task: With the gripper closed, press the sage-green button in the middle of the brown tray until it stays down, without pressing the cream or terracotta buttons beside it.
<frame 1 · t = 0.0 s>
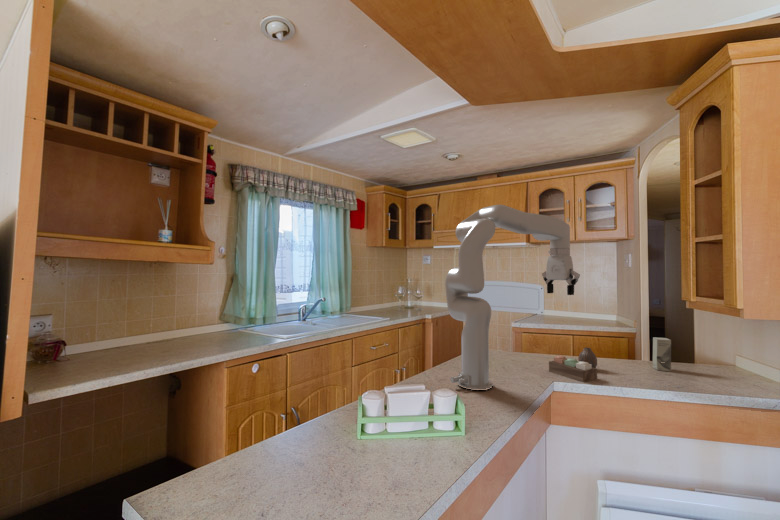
hand: (560, 294, 149), 31 cm above the counter, tool pointing down, fingers open, 9 cm apart
terracotta button: (561, 360, 145), point 5 cm above the counter, slide at 0.0 cm
box: (661, 370, 148), on the counter
sage button: (572, 363, 140), point 5 cm above the counter, slide at 0.0 cm
brown tray: (572, 375, 140), on the counter
vase: (587, 369, 148), on the counter
cream button: (583, 366, 136), point 5 cm above the counter, slide at 0.0 cm
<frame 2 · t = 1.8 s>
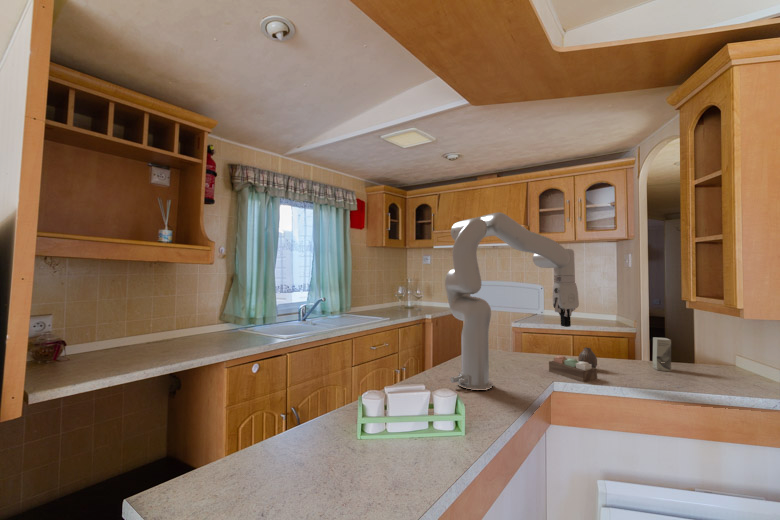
hand: (565, 326, 142), 19 cm above the counter, tool pointing down, fingers closed
nothing on the counter moved.
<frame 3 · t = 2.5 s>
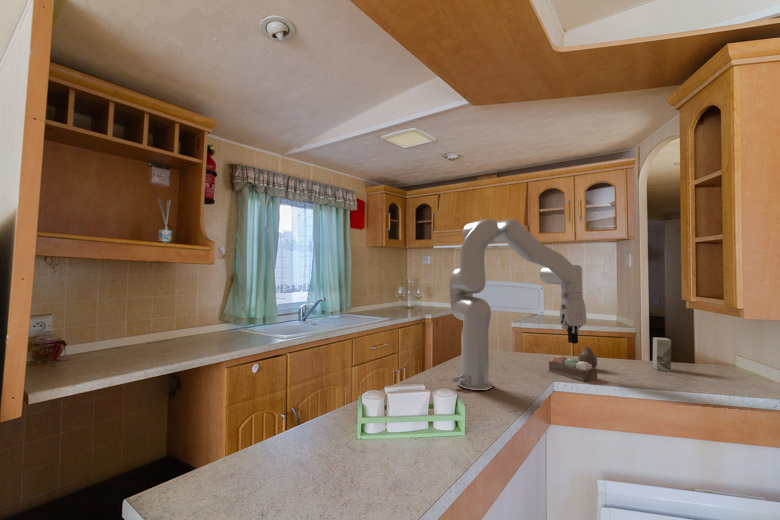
hand: (573, 342, 141), 13 cm above the counter, tool pointing down, fingers closed
nothing on the counter moved.
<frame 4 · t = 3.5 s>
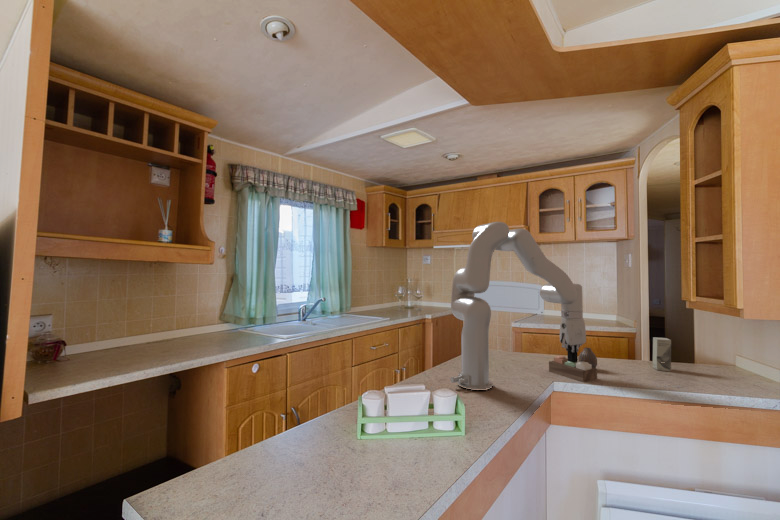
hand: (572, 361, 141), 5 cm above the counter, tool pointing down, fingers closed
sage button: (572, 365, 140), point 4 cm above the counter, slide at 0.8 cm, touching gripper
everything else where it was.
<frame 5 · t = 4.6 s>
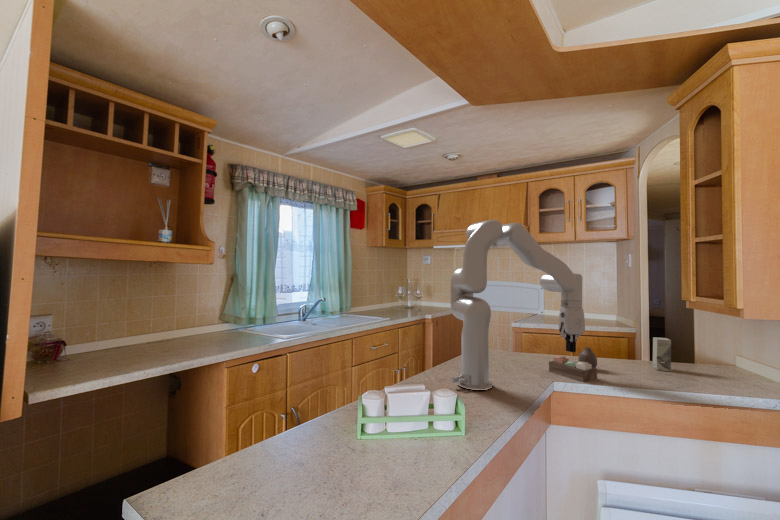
hand: (570, 351, 140), 9 cm above the counter, tool pointing down, fingers closed
sage button: (572, 365, 140), point 4 cm above the counter, slide at 1.0 cm
everything else where it was.
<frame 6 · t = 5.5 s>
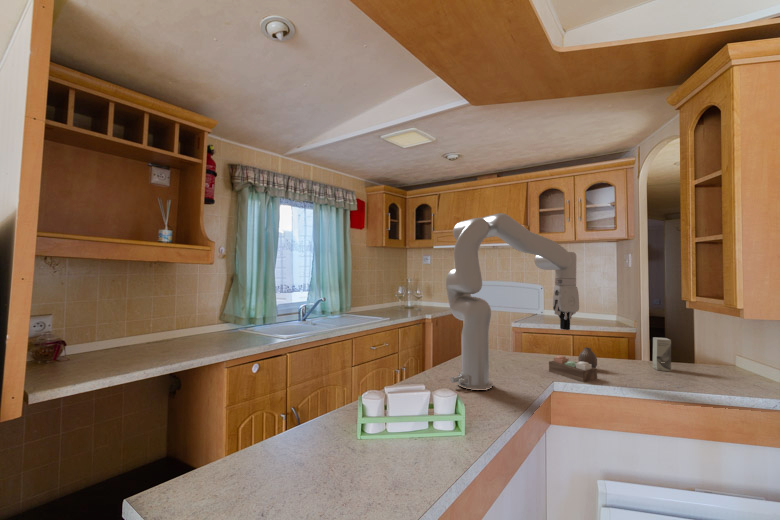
hand: (565, 329, 141), 18 cm above the counter, tool pointing down, fingers closed
nothing on the counter moved.
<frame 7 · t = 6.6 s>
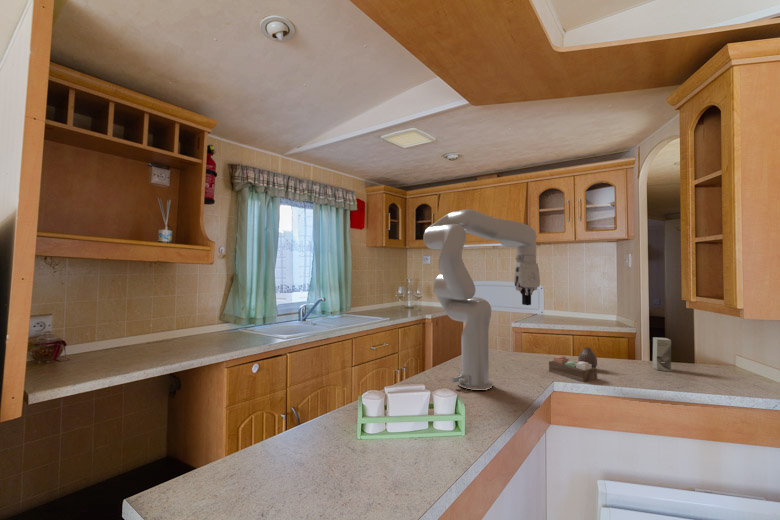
hand: (526, 304, 146), 27 cm above the counter, tool pointing down, fingers closed
nothing on the counter moved.
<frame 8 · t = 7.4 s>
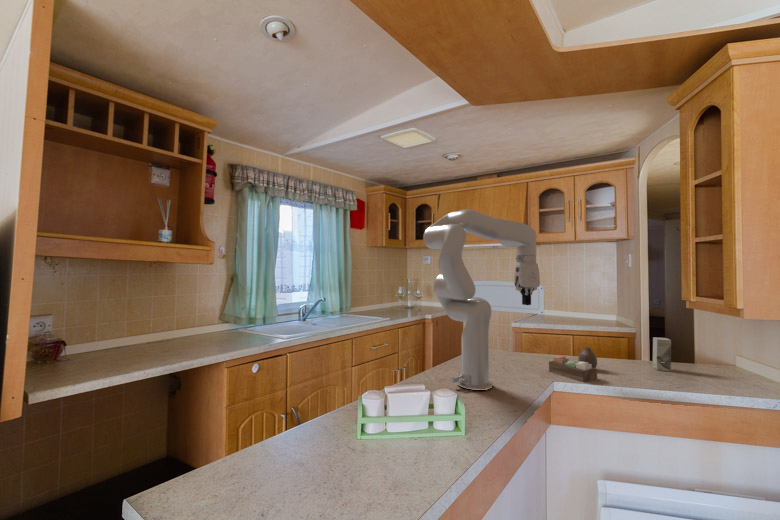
hand: (526, 304, 146), 27 cm above the counter, tool pointing down, fingers closed
nothing on the counter moved.
at the end: sage button slide at 1.0 cm; cream button slide at 0.0 cm; terracotta button slide at 0.0 cm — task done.
